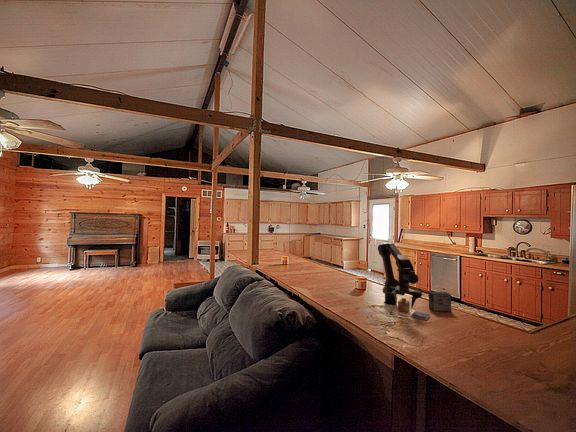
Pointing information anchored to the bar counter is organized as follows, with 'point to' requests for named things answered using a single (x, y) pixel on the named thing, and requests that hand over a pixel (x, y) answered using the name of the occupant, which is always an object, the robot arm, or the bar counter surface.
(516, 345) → the bar counter surface
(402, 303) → the stamp
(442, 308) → the small box
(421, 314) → the ink pad
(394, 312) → the print sheet
